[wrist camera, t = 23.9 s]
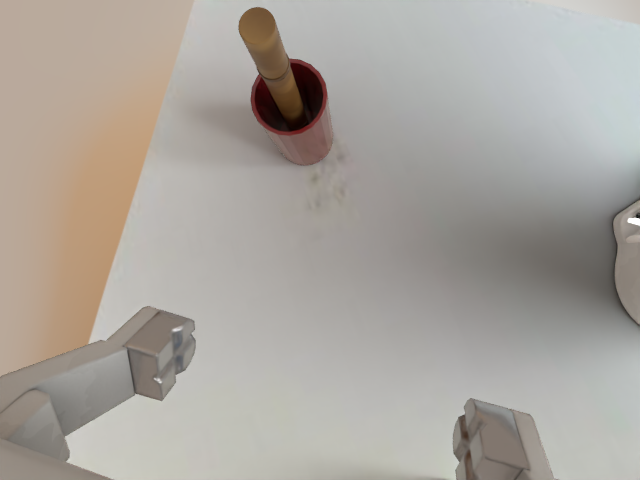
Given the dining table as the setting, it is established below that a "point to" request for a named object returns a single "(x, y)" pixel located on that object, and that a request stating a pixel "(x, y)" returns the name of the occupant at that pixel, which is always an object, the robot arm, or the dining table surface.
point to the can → (318, 134)
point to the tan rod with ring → (273, 64)
